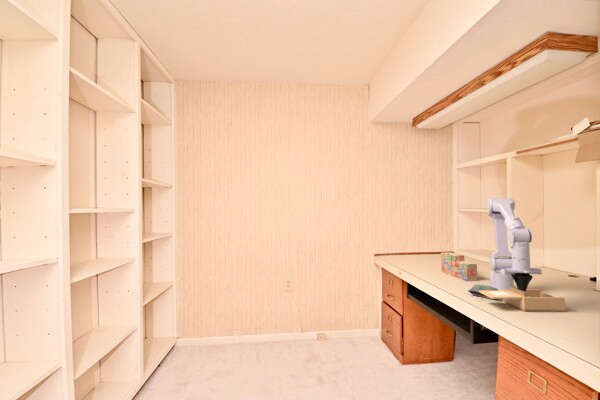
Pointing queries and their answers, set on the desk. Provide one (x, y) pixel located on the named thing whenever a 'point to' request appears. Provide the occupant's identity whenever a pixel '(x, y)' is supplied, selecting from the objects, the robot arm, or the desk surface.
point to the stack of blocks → (458, 266)
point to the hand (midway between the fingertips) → (522, 292)
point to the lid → (505, 294)
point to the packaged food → (477, 288)
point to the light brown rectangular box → (538, 302)
